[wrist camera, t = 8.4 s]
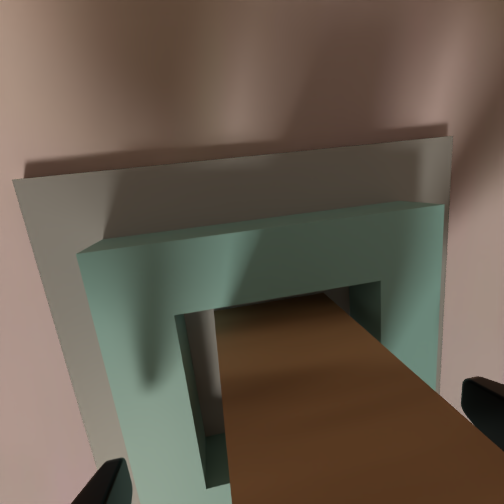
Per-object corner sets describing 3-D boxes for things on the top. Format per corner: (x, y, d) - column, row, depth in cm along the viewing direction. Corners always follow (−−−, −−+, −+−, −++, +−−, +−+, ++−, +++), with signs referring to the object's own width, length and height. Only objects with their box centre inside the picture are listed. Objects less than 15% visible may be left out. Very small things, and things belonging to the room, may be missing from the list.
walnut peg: (328, 386, 12) (575, 781, 4) (227, 408, 11) (287, 913, 3) (323, 292, 11) (637, 569, 3) (213, 311, 10) (252, 708, 2)
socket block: (428, 449, 14) (474, 503, 12) (121, 528, 12) (102, 613, 10) (441, 138, 11) (512, 124, 8) (22, 180, 9) (-46, 178, 6)
